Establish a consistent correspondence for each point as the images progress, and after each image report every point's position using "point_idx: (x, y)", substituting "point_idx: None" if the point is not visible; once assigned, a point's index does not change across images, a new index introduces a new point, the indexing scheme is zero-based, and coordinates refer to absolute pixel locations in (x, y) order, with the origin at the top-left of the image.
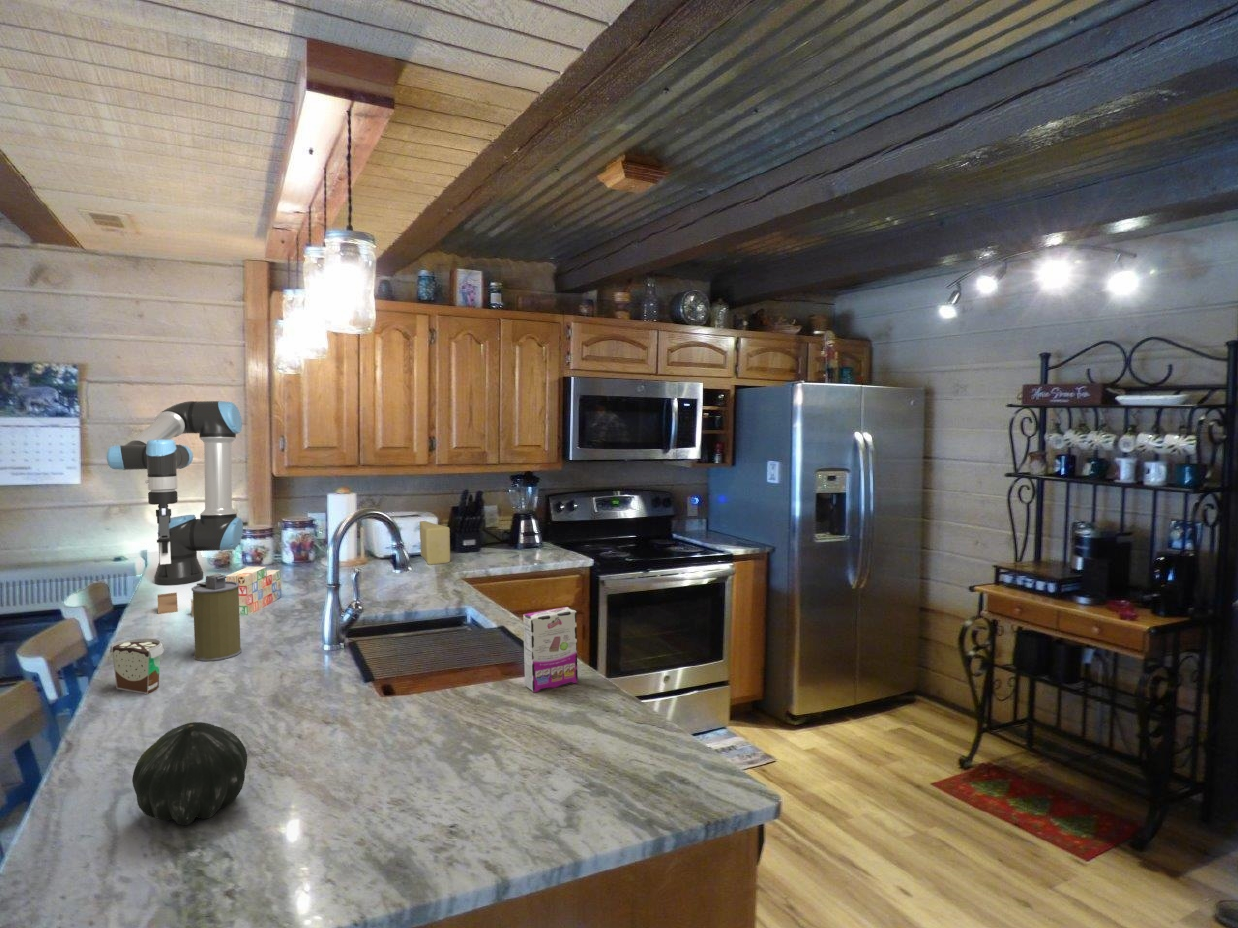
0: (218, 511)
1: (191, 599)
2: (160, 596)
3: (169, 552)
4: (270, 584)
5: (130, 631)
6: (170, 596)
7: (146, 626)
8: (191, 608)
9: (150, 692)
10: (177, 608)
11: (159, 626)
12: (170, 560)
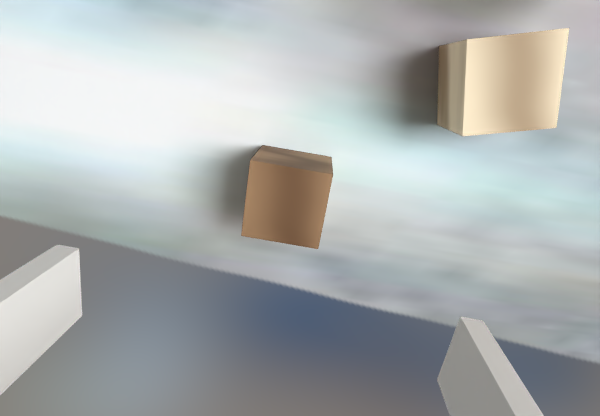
0: None
1: (469, 135)
2: (293, 233)
3: (532, 411)
4: None
5: (504, 326)
6: (325, 200)
7: (479, 281)
8: (448, 128)
9: None
10: (330, 160)
11: (518, 251)
12: (494, 341)
